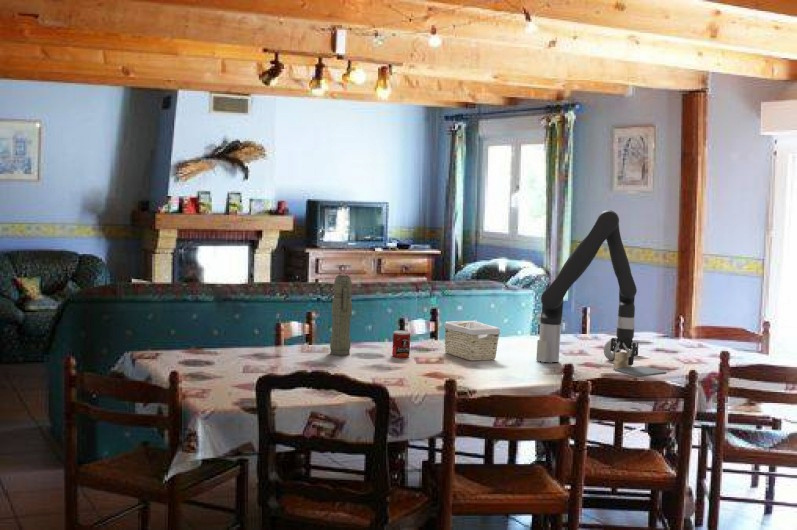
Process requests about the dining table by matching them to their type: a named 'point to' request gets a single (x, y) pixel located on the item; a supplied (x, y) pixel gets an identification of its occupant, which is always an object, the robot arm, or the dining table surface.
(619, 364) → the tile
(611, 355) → the donut
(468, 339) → the storage basket
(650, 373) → the mat
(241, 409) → the dining table surface
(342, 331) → the grey-green tall rounded block
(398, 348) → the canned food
